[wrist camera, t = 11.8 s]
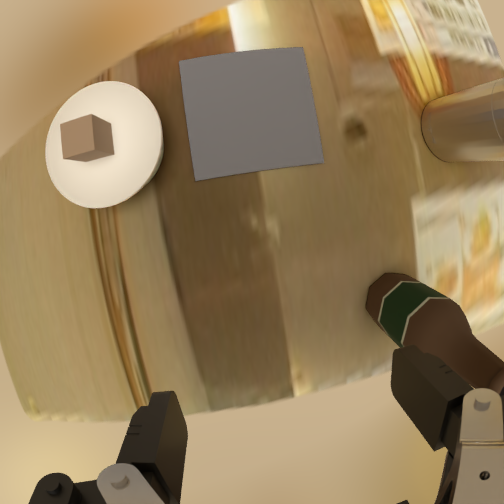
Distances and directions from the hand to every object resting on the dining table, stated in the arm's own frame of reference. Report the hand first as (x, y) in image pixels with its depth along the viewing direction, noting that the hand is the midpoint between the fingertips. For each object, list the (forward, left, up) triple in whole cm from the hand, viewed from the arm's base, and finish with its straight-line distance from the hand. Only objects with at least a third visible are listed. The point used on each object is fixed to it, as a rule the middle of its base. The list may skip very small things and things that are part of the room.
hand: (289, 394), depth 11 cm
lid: (+13, -14, -22) cm, 29 cm away
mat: (-3, -16, -28) cm, 32 cm away
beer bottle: (-18, +10, -28) cm, 35 cm away
